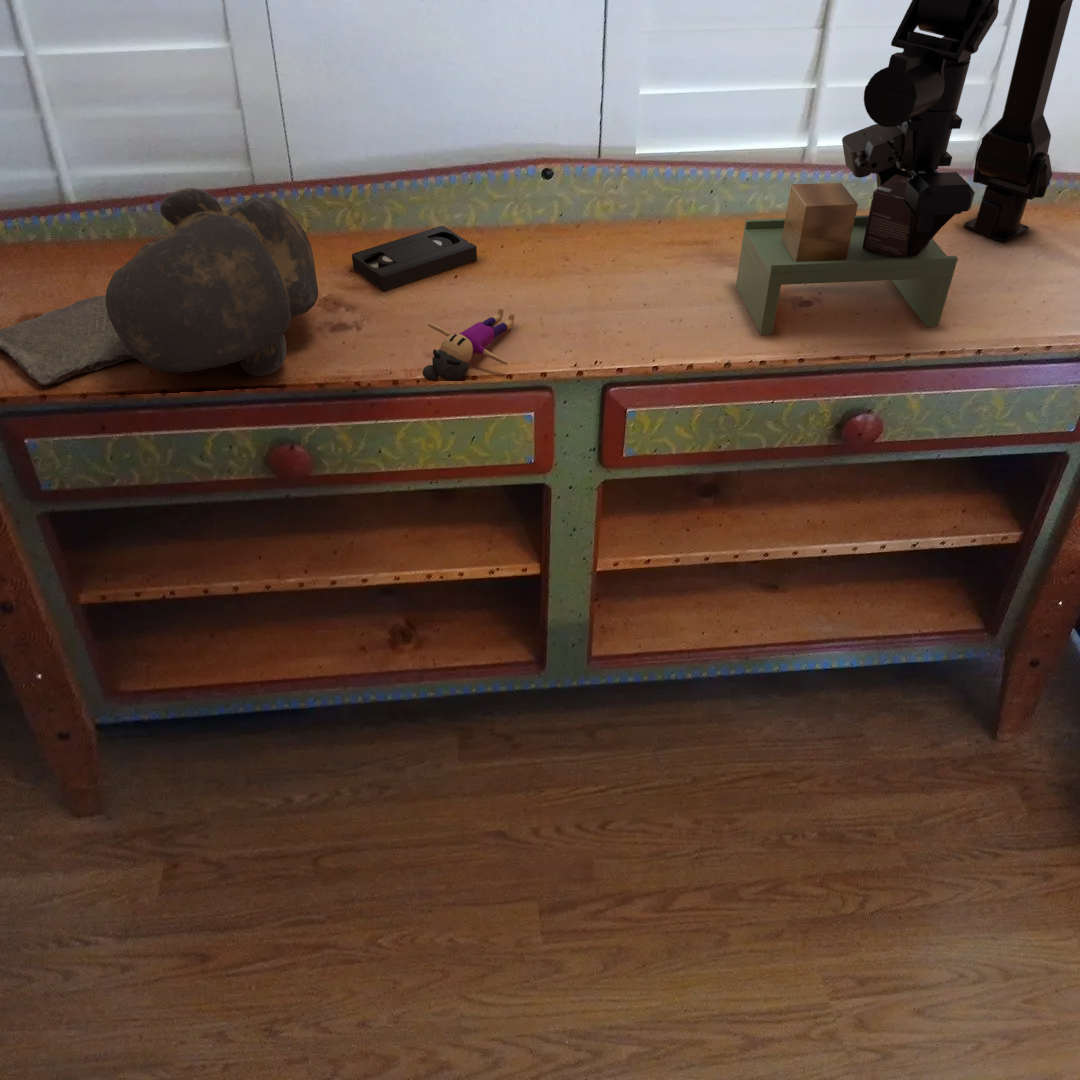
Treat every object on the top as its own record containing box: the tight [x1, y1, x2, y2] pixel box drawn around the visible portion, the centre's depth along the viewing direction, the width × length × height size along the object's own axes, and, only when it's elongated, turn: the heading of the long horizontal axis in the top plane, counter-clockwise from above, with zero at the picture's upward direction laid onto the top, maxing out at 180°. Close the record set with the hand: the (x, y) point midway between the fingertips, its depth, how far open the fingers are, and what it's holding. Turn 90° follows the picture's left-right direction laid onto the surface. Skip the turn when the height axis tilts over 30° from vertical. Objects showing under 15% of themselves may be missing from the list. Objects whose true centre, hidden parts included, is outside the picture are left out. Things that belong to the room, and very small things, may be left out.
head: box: [105, 187, 319, 377], centre depth 116 cm, size 21×23×25 cm
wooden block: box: [782, 182, 859, 262], centre depth 123 cm, size 6×6×7 cm
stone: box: [0, 295, 136, 386], centre depth 122 cm, size 17×3×15 cm
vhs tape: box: [351, 225, 478, 293], centre depth 138 cm, size 14×8×2 cm, turn 128°
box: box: [862, 174, 929, 258], centre depth 124 cm, size 6×6×7 cm
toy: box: [422, 307, 516, 382], centre depth 122 cm, size 10×6×15 cm
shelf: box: [735, 214, 959, 336], centre depth 129 cm, size 22×12×9 cm, turn 96°
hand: (897, 237), depth 126 cm, fingers open, 9 cm apart
